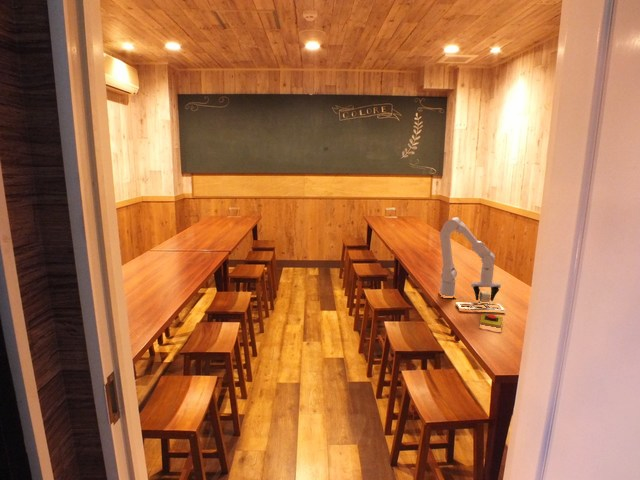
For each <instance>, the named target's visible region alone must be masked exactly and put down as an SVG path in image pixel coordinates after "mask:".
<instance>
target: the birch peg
mask: <svg viewBox="0 0 640 480" xmlns="http://www.w3.org/2000/svg"><path fill="white" fill-rule="evenodd" d="M490 298H491V293H489V291H479V299H480V301H481V302H489V303H490V301H491V300H490ZM479 299H478V300H479Z"/></svg>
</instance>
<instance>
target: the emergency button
mask: <svg viewBox="0 0 640 480" xmlns="http://www.w3.org/2000/svg"><path fill="white" fill-rule="evenodd" d="M502 321H503V316H500V315H496V314H495V315H494V314H490V313H481V318H480V320H479V325H480V324H481V325H485V326H491V327H496V328H501V325H502V326H503V324H502ZM503 322H504V321H503ZM501 329H502V328H501Z"/></svg>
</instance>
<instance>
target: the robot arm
mask: <svg viewBox="0 0 640 480" xmlns="http://www.w3.org/2000/svg"><path fill="white" fill-rule="evenodd" d="M455 230H456V231H455ZM454 231H455V233H458V234H462V235H463V237H464V238H465V239H467V241H468V242H469V243H470V244H471V246H472V247H471V249H472V250H473V251H474V252H475V253H476V254H477V257H479V258H480V259H481V263H482V266H481V272H480V281H478V282H471V284H470V287H472V289H473V292H474V295H475V296H474V297H475V300H476V301H479V296H480V292H481V289H480V288H490V301H491V302H493V301H494V299H495V297H496V296H497V293H499V290H500V289H501V287H502V284H501V283H500V282H499V283H498V282H493V277H494V269H495V268H494V266H495V260H496V255H495V253H494V252H492V250H490V249H489V248H488V247H487V246H486V243H485V242H482V241H481V240H478V239H477V238H476V237H475V235H474V234H473V232H472V231H470V229H469V228H468V227H467V225H466V223H464V222H463V221H462V220H461V219H460V218H459V217H457V216H454V217H452V218H450V219H447V220H446V221H445V222H444V223H443V226H442V227H441V230H440V232H439V240H440V246H441V247H440V248H441V255H442V256H441V257H442V268H441V269H442V270H441V271H442V272H441V275H440V276H441V277H440V278H441V281H440V285H439V292H440V291H441V294H442V295H445V296H453V295H455V292H456V279H455V278H456V277H457V276H458V271H457V270H456V268H455V265H454V261H453V252H452V244H451V235H452V234H453V233H454Z"/></svg>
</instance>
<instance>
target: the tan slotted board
mask: <svg viewBox="0 0 640 480" xmlns="http://www.w3.org/2000/svg"><path fill="white" fill-rule="evenodd" d="M456 304H457V306H458V307H459V308H460V309H465V310H467V309H468V310H469V309H471V310H501V311H505V312H506V309H505V308H504V307H503V306H502V305H501V304H500V303H489V304H488V303H479V302H458V301H457V302H455V305H456ZM460 304H462V305H471V307H472V308H470V307H461V305H460ZM474 305H484V306H485V307H486V308H476V307H475V306H474ZM488 305H498V306H499V307H500V309H497V308H490V307H489V306H488Z"/></svg>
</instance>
